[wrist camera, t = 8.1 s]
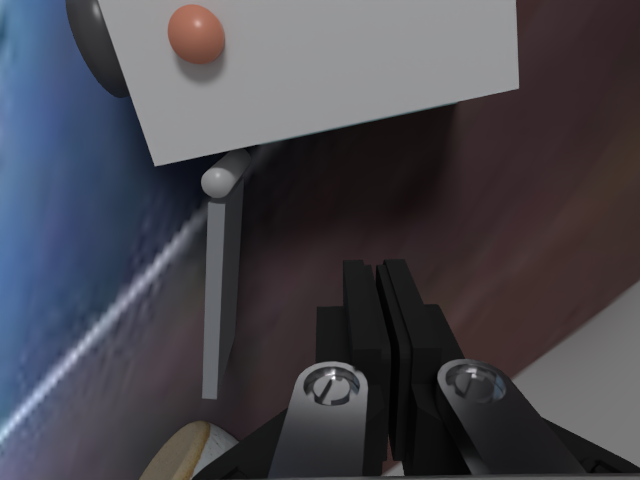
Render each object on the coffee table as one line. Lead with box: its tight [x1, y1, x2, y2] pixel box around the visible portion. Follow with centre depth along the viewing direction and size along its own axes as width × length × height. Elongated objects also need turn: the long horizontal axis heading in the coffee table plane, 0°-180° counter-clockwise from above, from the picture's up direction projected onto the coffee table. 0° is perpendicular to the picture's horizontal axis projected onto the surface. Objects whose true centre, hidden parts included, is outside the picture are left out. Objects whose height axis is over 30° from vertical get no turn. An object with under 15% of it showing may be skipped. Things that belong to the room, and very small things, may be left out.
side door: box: [201, 148, 250, 399], centre depth 21 cm, size 12×1×6 cm, turn 173°
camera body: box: [66, 0, 519, 166], centre depth 17 cm, size 16×8×7 cm, turn 102°
